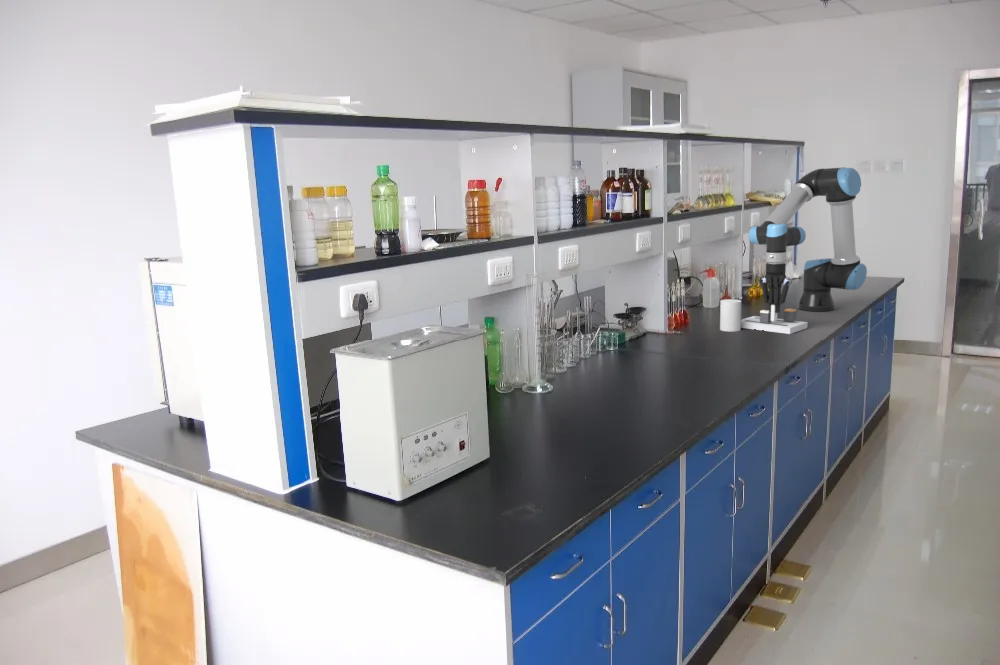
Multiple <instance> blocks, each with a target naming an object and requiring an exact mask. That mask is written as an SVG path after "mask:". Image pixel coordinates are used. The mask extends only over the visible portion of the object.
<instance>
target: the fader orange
mask: <svg viewBox="0 0 1000 665" xmlns="http://www.w3.org/2000/svg"><path fill="white" fill-rule="evenodd" d="M796 316H797V309H796V308H785V309H784V310H783V319H784V321H791V322H793V321H797V318H796Z"/></svg>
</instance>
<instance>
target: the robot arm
mask: <svg viewBox="0 0 1000 665" xmlns="http://www.w3.org/2000/svg"><path fill="white" fill-rule="evenodd" d="M861 187H862V179H861V176H860V173H859V171H858V170H856V169H855V168H852V167H829V168H817V169H814V170H812V171H810V172H807V174H805V175H803V176H802V177H801V178H800V179H798V180H797V181H796V183H794V184H793V185H792V188H791V191H790V192H789V193H788V194H787V195H786V197H785V198H784V199H783V200H782V201H781V202H780V204H779V205H778V206H776V208H775V209H774V210H773V211H772V212H771V214H770V215H769V216H768V217H767V218H766V219H765V220H764V221H763V222H762V224H760V226H759V225H756V226H755V225H753V226H752V227H750V229H749V232H748V240H749V242H750V243H751V244H754V245H755V244H756V245H763V246H764V245H766V253H765V254H766V256H765V261H766V264H765V275H764V276H763V278H760V279H759V280H758V282H759V283H760V285H761V289H762V293H763V294H762V295H763V300H764V303H765V304H768V310H769V312H771V321H776V320H777V319H778V314H779V313H780V312H781V309H780V308H781V307H780V306H781V305H782V304H783V305H784V304H785V302H786V299H787V295H788V292H789V288H790V286H791V284H792V280H790V279H788V278H787V276H786V268H787V267H786V266H787V264H786V262H787V247H793V246H798V245H800V244H801V245H802V244H803V243H804V242H805V240H806V231H805V229H804V228H803V227H801V226H788V225H787V224H788V223H789V221H791V219H792V218H793V217H794V216H795V215H796V213H797V212H798V211H800V209H801V208H802V207H803V206H804V205H805V203H807V202H810V201H811V200H812V199H814V198H816V197H820V196H821V197H823V196H824V197H825V201H826V203H827V204H829V205H830V218H831V231H832V241H833V242H832V243H833V244H832V245H833V256H834V257H833V258H818V259H810V260H807V261H805V263H804V268H803V285H802V286H803V290H802V291H803V292H802V295H801V296H800V300H799V303H798V309H799V310H801V311H806V312H830V311H834V310H835V304H834V303H835V302H834V299H833V296H832V292H831V290H832V289H838V290H839V289H840V290H847V291H849V290H850V291H851V290H853V291H855V290H858V289H861V287H863V285H864V282H865V280H866V279H867V275H868V274H867V273H868V270H867V266H866V265H865V264H864V263H861V258H860V256H858V255H857V254H856V253H857V250H856V240H855V239H856V238H855V222H854V208H853V207H854V206H853V202H854V200H856V198H857V195H858V194H859V193H860V191H861ZM782 285H783V286H782Z"/></svg>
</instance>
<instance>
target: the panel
mask: <svg viewBox="0 0 1000 665" xmlns="http://www.w3.org/2000/svg"><path fill="white" fill-rule="evenodd" d="M808 324H809V322H808V321H800V320H796V321H793V322H791V321H784V318H777V320H776V321H771V322H770V323H763V322H760V316H757V315H752V316H749V317H746V318H741V329H748V330H754V329H756V331H757V330H758V331H762V330H764V331H765V332H771V333H777V334H778V333H779V334H787V335H790V334H794V333H797V332H799V331H803V330H805V329H808Z"/></svg>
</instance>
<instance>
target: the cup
mask: <svg viewBox="0 0 1000 665" xmlns="http://www.w3.org/2000/svg"><path fill="white" fill-rule="evenodd" d="M719 306H720V310H719V311H720V313H719V314H720V317H719V330H720V331H722V332H729V333H730V332H739V331H741V329H742V328H741V320H742V300H741V299H731V298H728V299H721V300H720V305H719Z"/></svg>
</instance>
